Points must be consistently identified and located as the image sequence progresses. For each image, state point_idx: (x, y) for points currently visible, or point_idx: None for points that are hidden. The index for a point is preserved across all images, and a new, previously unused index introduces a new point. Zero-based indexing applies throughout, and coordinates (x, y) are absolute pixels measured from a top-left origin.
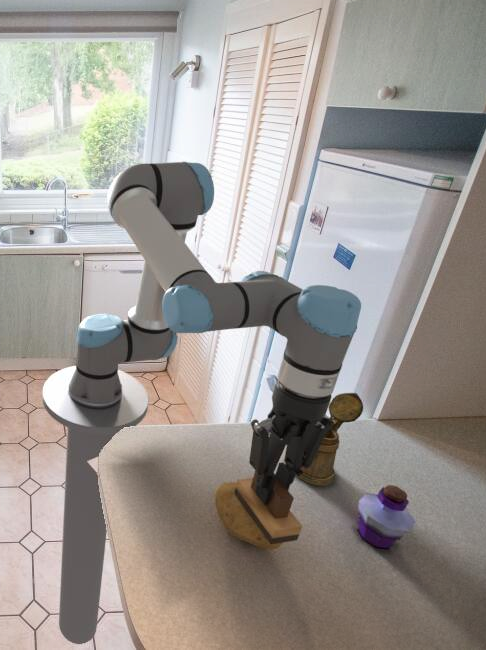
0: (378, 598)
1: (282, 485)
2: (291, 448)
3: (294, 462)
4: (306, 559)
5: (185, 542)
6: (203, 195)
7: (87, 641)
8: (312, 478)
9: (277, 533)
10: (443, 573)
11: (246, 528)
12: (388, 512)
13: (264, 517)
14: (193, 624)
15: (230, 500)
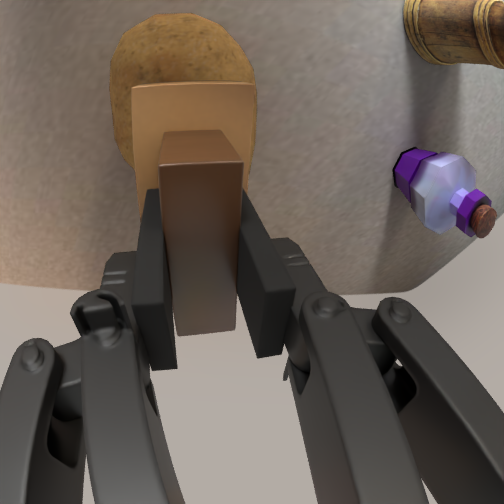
0: (325, 252)
1: (232, 280)
2: (331, 478)
3: (300, 415)
4: (273, 183)
5: (41, 128)
6: None
7: None
8: (423, 48)
9: None
10: (423, 230)
11: None
12: (450, 211)
13: None
14: (28, 268)
15: (126, 96)
